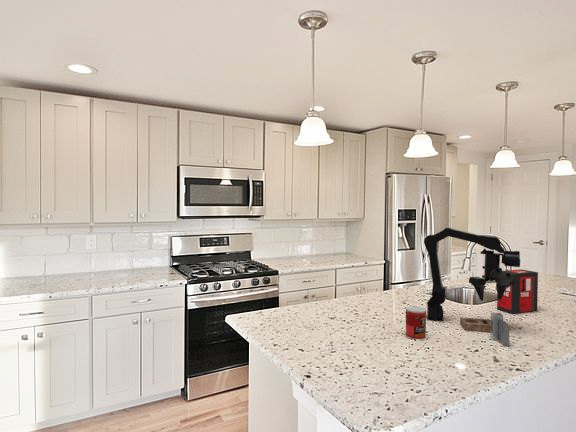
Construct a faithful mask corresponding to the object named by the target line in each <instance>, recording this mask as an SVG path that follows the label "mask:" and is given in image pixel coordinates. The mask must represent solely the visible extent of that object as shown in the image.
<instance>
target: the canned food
mask: <svg viewBox="0 0 576 432" xmlns="http://www.w3.org/2000/svg"><path fill="white" fill-rule="evenodd" d="M426 315H427V309H425V308H424V307H420V306H412V305H411V306H410V305H409V306H406V307H405V335H406V336H407V337H409V338H411V339H416V340H419V339H420V340H421V339H422V340H423V339H425V337H426V333H427V332H426V330H427V316H426Z"/></svg>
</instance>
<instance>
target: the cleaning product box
mask: <svg viewBox="0 0 576 432" xmlns="http://www.w3.org/2000/svg"><path fill="white" fill-rule="evenodd" d="M502 272H503V273H506V274H507V273H512V274H513V276H514V285H512V286H511V287H508V288H507V289H506V290H505V292H504V294H503V297H502V299H501V300H499V299H498V295H497V294H496V297H497V298H496V310H497V311H499V310H500V312H503V313H506V314H510V315H513V316H514V315H518V314H519V315H521V314H529V313H537V312H538V294H539V293H538V292H539V291H538V289H539V286H538V285H539V284H538V283H539V272H538V271H533V270H528V269H522V268H521V269H511V270H510V269H507V270H502Z"/></svg>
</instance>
